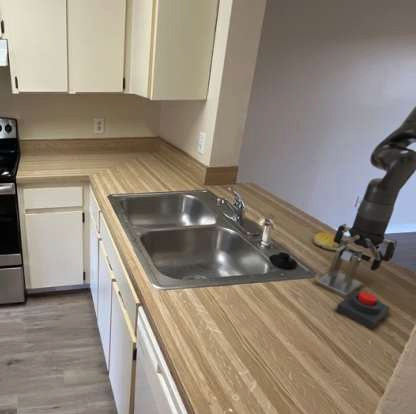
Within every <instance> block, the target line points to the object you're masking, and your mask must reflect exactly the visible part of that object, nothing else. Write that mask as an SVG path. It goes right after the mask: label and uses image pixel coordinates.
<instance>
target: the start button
mask: <svg viewBox="0 0 416 414" xmlns="http://www.w3.org/2000/svg"><path fill="white" fill-rule="evenodd" d="M359 292H360V293H359V296H358V300H359V301H360V302H362V303H364V304H366V305H370V306H374V305H375V303H376V300H377V299H378V298H377V297H376V295H374V294H372V293H370V292H367V291H366V292H365V291H359Z"/></svg>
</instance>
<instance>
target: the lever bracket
mask: <svg viewBox="0 0 416 414" xmlns="http://www.w3.org/2000/svg"><path fill="white" fill-rule="evenodd" d="M347 249H348V246H347V245H346V246H345V245H343V246H341V247H339V248H338V249H337V250H335V251H334V252H335V253H334V255H333V258H332V259H333V260H332V262H331V264H330V268H329V271H328V272H327V273H326V274H323V276H321V277H319V278H318V279H316V280H315V285H317V286H320V287H321V288H324V289H325V290H328V291H330V292H332V293H334V294H337V295H339V296H340V297H342V298H344V299H346V298H347V297H349V296H350V295H351V294H352V293H354V292H355V291H357V290H358V289H359V288H360V287H361V286H362V284H363V283H362V282H361V281H359V280H357V279H355V276H356V273H357V271H358V268H359V266H360V263H361V262H362V259H361V257H362V255H363V254H364V252H363V251H361V250H358V251H357V253H355V254H354V255H353V256H352V258H351V261H350V262H349V264H348V266H347V270H346V273H345V274H343V273H341V272H340V269H341V266H342V263H343V261H344V260H343V259H341V256H342V254H343V251H347Z"/></svg>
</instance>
